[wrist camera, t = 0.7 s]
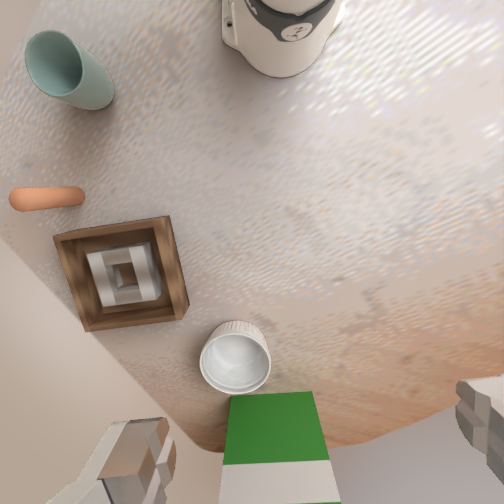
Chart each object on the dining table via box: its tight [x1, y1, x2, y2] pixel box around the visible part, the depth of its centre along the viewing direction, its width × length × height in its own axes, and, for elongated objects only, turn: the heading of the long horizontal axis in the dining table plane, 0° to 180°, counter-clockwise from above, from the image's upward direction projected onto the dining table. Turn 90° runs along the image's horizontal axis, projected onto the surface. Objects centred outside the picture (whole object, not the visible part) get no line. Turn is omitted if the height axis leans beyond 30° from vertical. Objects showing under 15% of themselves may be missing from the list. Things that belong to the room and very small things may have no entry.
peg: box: [9, 187, 85, 212], centre depth 43 cm, size 3×3×12 cm
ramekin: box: [199, 320, 271, 394], centre depth 53 cm, size 13×13×7 cm
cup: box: [25, 30, 114, 110], centre depth 40 cm, size 8×8×10 cm
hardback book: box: [218, 391, 341, 504], centre depth 49 cm, size 18×7×24 cm, turn 95°
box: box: [53, 216, 190, 332], centre depth 50 cm, size 18×18×6 cm
